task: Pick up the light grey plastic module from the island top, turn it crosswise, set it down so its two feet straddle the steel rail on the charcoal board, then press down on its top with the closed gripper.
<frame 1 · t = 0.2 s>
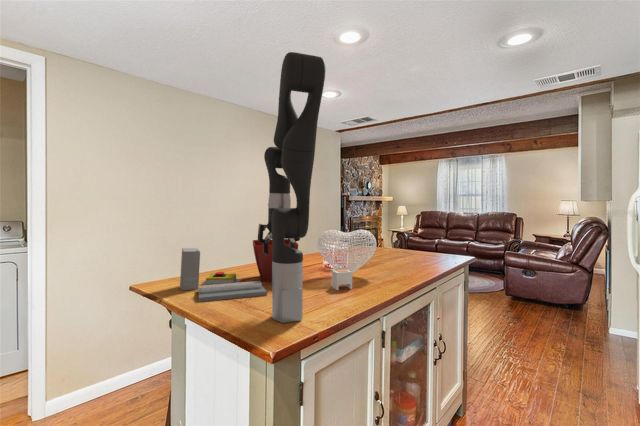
hand: (278, 254, 111), 17 cm above the counter, tool pointing down, fingers open, 8 cm apart
plant pot: (274, 278, 150), on the counter
heart: (346, 276, 154), on the counter
emergency button: (222, 283, 142), on the counter
rail board: (232, 293, 124), on the counter
module: (341, 288, 133), on the counter
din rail: (232, 286, 124), on the rail board, point 2 cm above the counter
skincare box: (190, 288, 132), on the counter
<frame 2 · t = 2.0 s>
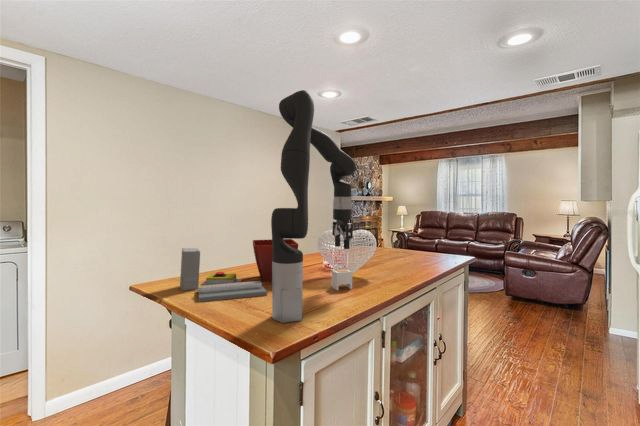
hand: (341, 247, 133), 17 cm above the counter, tool pointing down, fingers open, 8 cm apart
nothing on the counter moved.
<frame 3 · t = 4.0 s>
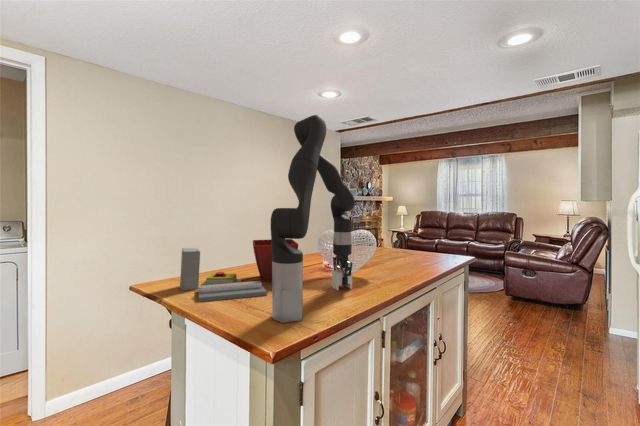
hand: (341, 283, 133), 2 cm above the counter, tool pointing down, fingers closed on module, 5 cm apart
module: (341, 287, 133), on the counter, touching gripper
everything else where it was.
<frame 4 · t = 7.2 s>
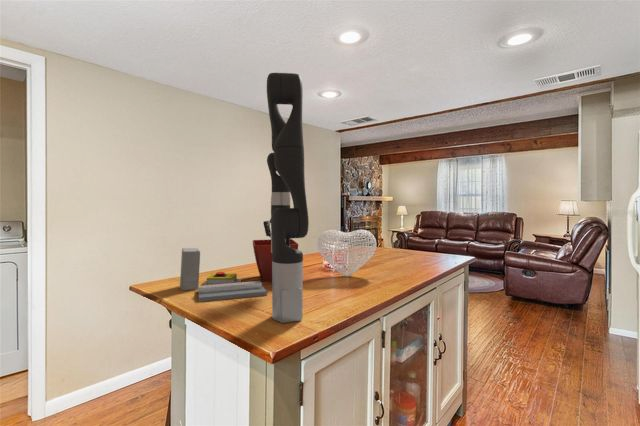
hand: (280, 247, 127), 17 cm above the counter, tool pointing down, fingers closed on module, 5 cm apart
module: (280, 251, 127), point 16 cm above the counter, touching gripper
everything else where it was.
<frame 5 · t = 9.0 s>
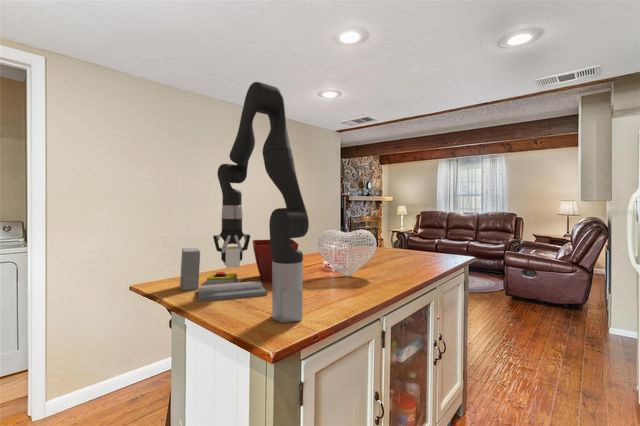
hand: (231, 261, 124), 12 cm above the counter, tool pointing down, fingers closed on module, 5 cm apart
module: (231, 265, 124), point 11 cm above the counter, touching gripper
everything else where it was.
when the fingers open (5 cm above the counter, at t = 10.7 s): module drops 1 cm, resting on rail board.
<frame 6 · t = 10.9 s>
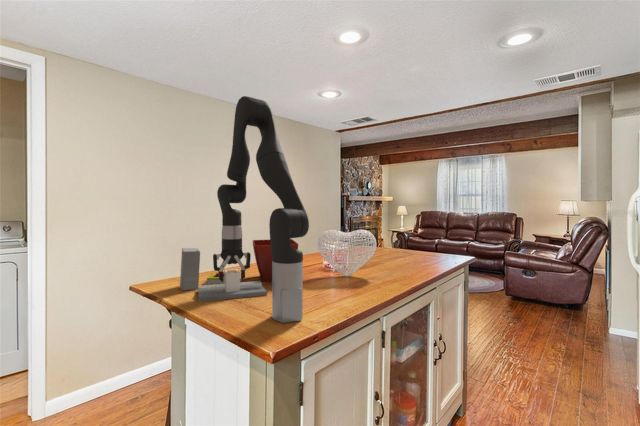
hand: (232, 280, 124), 5 cm above the counter, tool pointing down, fingers open, 7 cm apart
module: (232, 289, 124), point 1 cm above the counter, touching rail board
everything else where it was.
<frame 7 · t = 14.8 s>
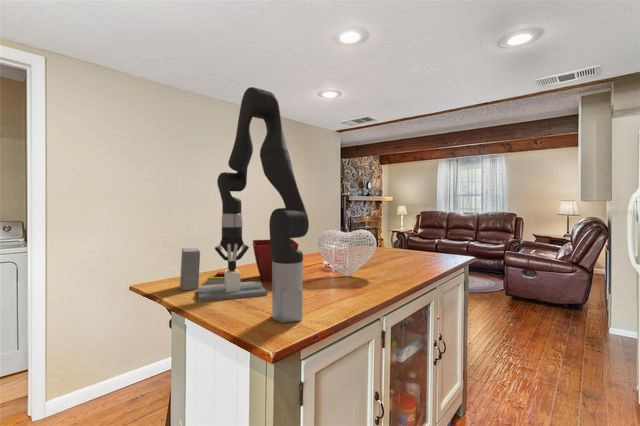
hand: (231, 270, 124), 9 cm above the counter, tool pointing down, fingers closed
module: (232, 289, 124), point 1 cm above the counter, touching gripper, rail board
everything else where it was.
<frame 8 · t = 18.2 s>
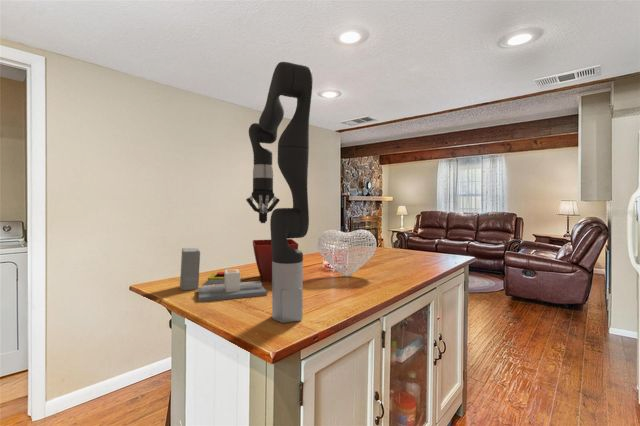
hand: (262, 223, 124), 27 cm above the counter, tool pointing down, fingers closed
module: (232, 289, 124), point 1 cm above the counter, touching rail board
everything else where it was.
at the end: module inside the target area on the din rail (0.1 cm from its centre), point 1.5 cm above the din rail's base; module tilted 0°; the gripper is holding nothing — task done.
